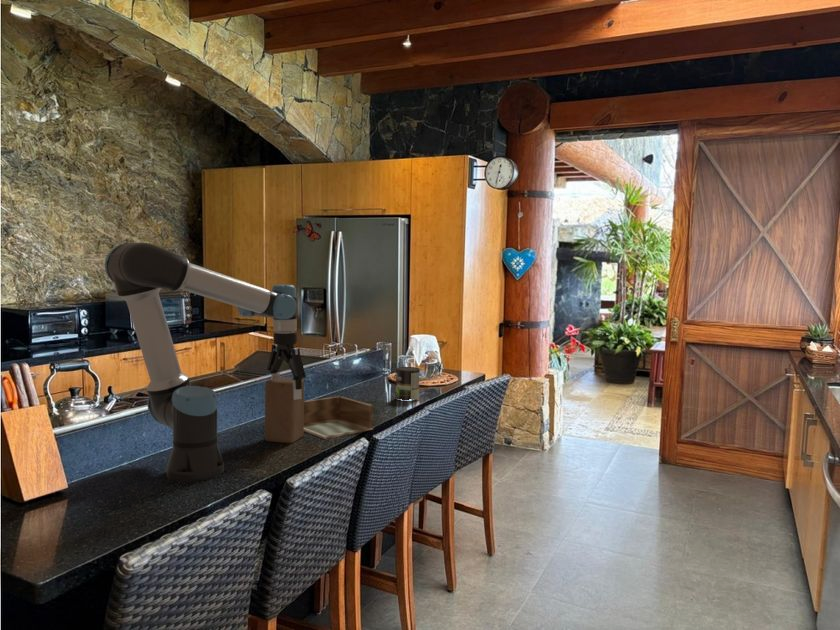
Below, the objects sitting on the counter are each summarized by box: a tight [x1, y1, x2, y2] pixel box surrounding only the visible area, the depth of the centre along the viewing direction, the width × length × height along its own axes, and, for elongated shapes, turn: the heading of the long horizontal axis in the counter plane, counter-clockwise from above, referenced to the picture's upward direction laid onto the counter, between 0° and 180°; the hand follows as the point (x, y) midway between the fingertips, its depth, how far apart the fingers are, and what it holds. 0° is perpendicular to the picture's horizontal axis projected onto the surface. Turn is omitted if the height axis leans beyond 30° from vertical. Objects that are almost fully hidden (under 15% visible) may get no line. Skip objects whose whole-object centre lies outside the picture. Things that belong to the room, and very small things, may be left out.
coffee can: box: [395, 366, 421, 400], centre depth 275 cm, size 10×10×14 cm
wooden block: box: [264, 376, 305, 444], centre depth 211 cm, size 10×10×20 cm
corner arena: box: [304, 395, 374, 440], centre depth 226 cm, size 20×20×9 cm
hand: (286, 395), depth 211 cm, fingers closed on wooden block, 13 cm apart
